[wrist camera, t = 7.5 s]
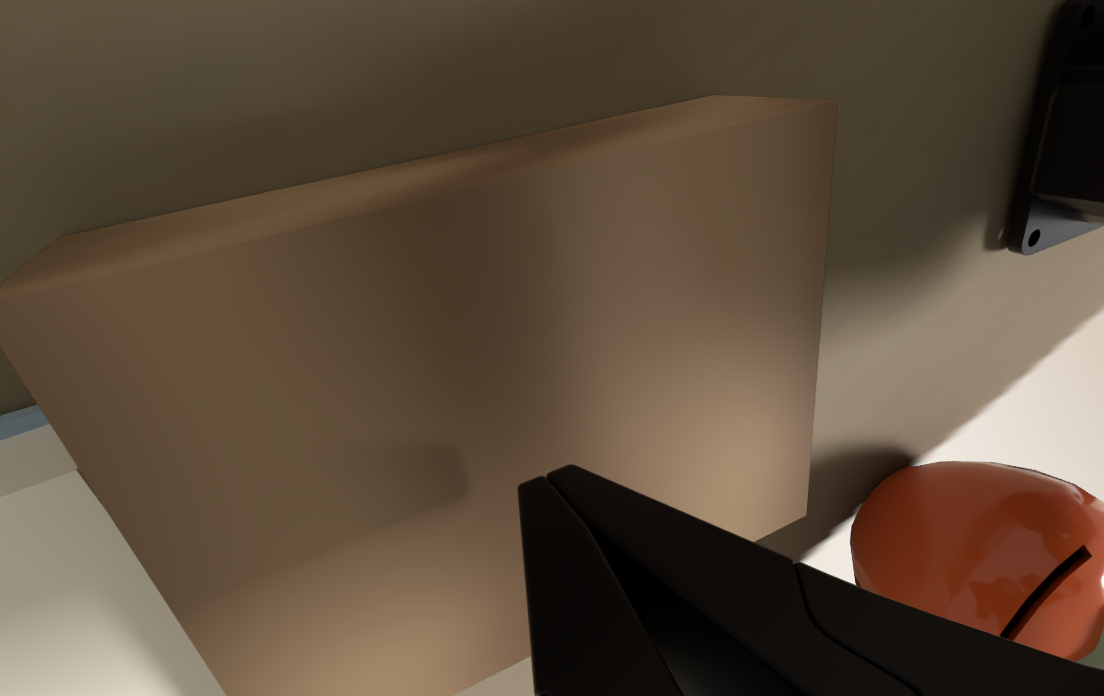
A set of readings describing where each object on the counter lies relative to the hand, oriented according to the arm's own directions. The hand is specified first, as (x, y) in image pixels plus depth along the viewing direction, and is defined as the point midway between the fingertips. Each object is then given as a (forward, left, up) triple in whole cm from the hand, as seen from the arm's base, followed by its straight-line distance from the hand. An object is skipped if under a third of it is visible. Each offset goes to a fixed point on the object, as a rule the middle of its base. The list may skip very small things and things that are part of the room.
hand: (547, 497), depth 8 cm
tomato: (-13, +11, -4) cm, 17 cm away
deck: (0, 0, -4) cm, 4 cm away
